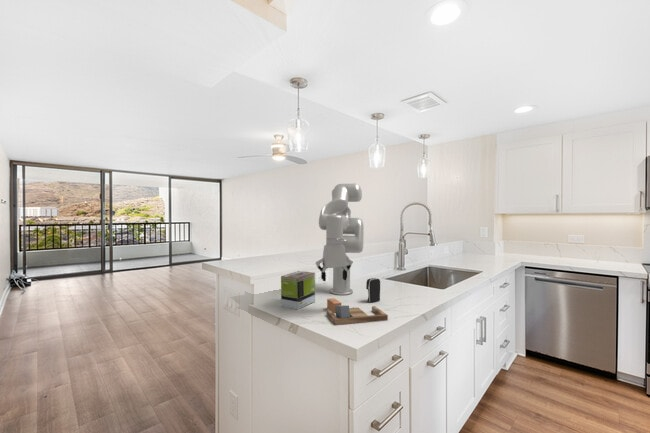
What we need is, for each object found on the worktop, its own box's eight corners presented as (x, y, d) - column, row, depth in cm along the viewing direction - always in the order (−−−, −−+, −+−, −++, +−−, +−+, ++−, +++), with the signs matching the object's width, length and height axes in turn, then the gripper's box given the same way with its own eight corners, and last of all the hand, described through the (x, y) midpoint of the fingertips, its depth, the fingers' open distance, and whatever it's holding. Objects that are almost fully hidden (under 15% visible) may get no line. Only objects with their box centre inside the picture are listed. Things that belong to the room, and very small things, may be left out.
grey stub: (335, 317, 126) (335, 305, 127) (343, 316, 127) (342, 305, 128) (341, 318, 119) (340, 306, 120) (349, 317, 120) (348, 305, 121)
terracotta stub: (327, 308, 138) (327, 298, 138) (334, 307, 140) (334, 298, 140) (334, 313, 131) (334, 303, 131) (341, 312, 132) (341, 302, 132)
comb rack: (326, 314, 129) (326, 310, 129) (374, 310, 135) (374, 306, 135) (335, 325, 117) (335, 319, 117) (387, 320, 123) (387, 315, 123)
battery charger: (375, 299, 153) (375, 276, 153) (380, 300, 150) (380, 278, 150) (365, 301, 149) (365, 278, 149) (370, 303, 146) (370, 279, 146)
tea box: (299, 298, 153) (299, 270, 153) (315, 301, 148) (315, 272, 148) (280, 306, 140) (280, 275, 140) (297, 310, 135) (297, 277, 135)
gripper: (349, 241, 141) (349, 277, 141) (313, 241, 136) (313, 279, 136) (355, 242, 133) (355, 281, 133) (317, 243, 129) (317, 283, 129)
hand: (334, 280), depth 135 cm, fingers open, 9 cm apart
